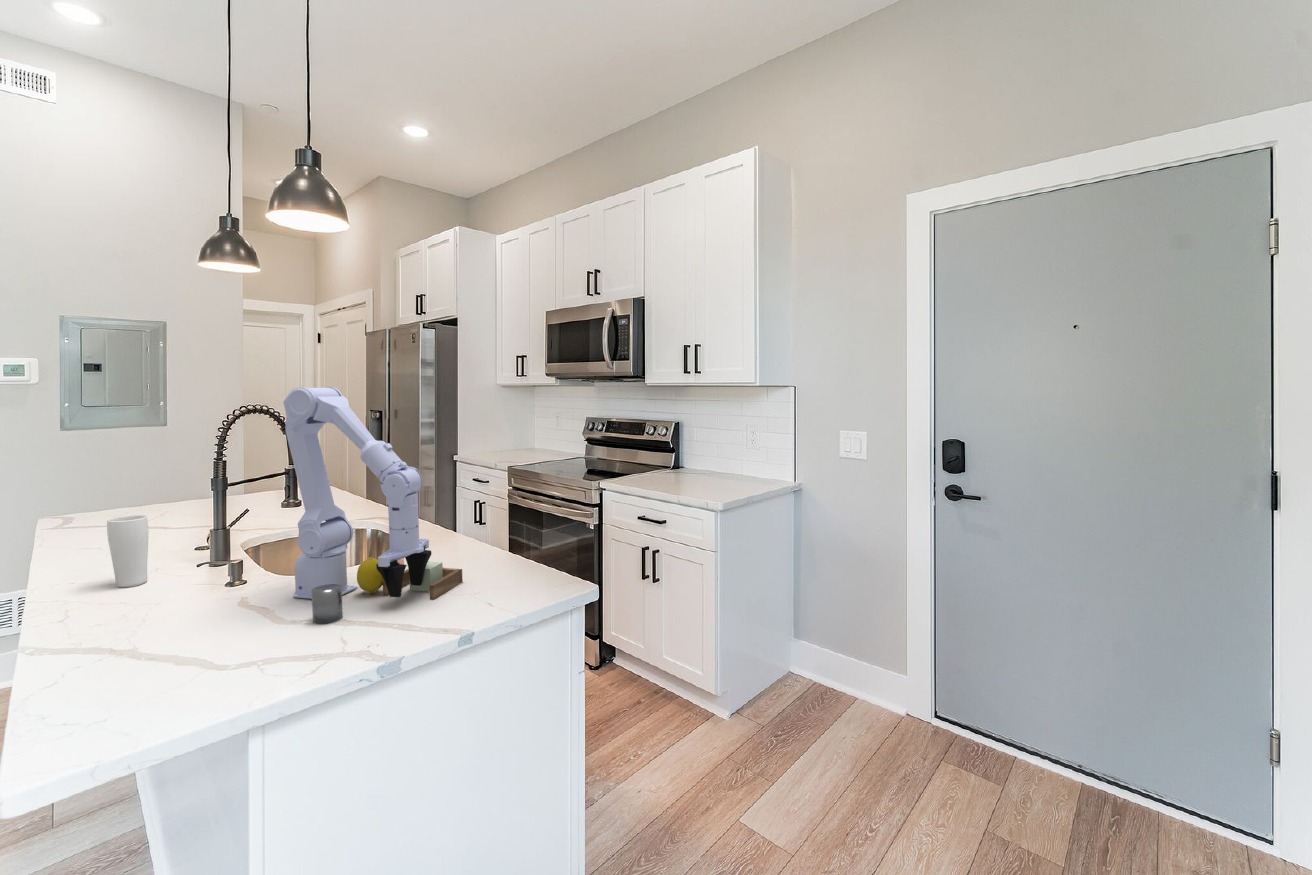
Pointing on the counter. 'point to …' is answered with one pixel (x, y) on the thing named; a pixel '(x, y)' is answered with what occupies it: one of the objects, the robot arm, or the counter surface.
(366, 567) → the lemon
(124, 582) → the drinking glass
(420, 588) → the block
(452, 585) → the corral
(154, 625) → the counter surface
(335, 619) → the can
